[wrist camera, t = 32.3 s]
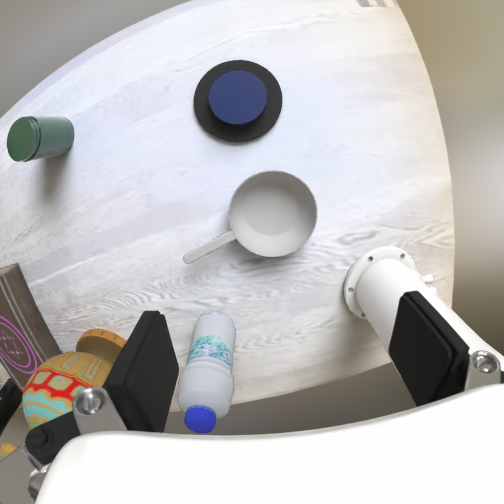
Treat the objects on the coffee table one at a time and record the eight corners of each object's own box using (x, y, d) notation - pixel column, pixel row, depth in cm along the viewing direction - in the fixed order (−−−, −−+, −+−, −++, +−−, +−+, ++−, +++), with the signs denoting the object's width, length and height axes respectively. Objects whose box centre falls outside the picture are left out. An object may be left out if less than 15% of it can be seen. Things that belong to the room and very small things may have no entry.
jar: (73, 112, 32) (33, 109, 23) (75, 151, 34) (36, 156, 25) (44, 123, 32) (5, 124, 23) (47, 159, 34) (7, 167, 25)
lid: (212, 127, 33) (210, 127, 31) (208, 76, 31) (206, 73, 29) (268, 123, 33) (269, 122, 31) (264, 72, 30) (265, 68, 29)
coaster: (278, 59, 30) (278, 57, 30) (284, 139, 34) (285, 138, 34) (192, 66, 30) (191, 65, 30) (197, 145, 34) (197, 145, 34)
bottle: (194, 337, 45) (171, 439, 26) (195, 303, 43) (165, 406, 24) (235, 342, 45) (229, 447, 27) (239, 308, 43) (234, 415, 24)
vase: (51, 324, 45) (-29, 431, 17) (123, 303, 43) (32, 456, 15) (103, 394, 52) (58, 502, 24) (176, 386, 50) (145, 527, 22)
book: (-27, 277, 41) (-40, 287, 37) (19, 262, 40) (3, 273, 35) (29, 379, 52) (21, 391, 48) (84, 385, 51) (76, 400, 46)
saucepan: (324, 226, 38) (331, 234, 35) (209, 281, 41) (205, 294, 38) (290, 153, 35) (294, 155, 31) (169, 217, 38) (161, 225, 34)
